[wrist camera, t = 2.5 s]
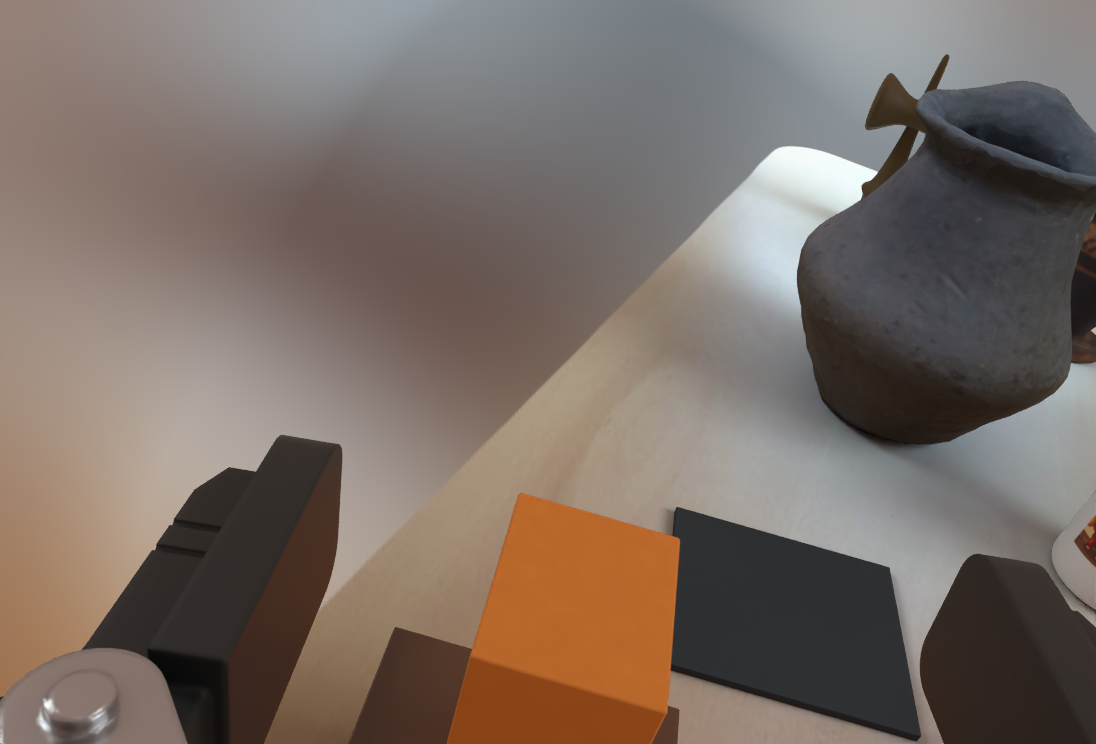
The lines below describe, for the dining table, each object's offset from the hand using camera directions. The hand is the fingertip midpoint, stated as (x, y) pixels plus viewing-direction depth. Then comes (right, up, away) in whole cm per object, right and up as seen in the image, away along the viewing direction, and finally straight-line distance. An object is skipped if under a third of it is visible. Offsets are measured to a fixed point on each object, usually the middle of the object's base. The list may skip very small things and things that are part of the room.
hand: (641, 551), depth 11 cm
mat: (+13, -12, +40) cm, 44 cm away
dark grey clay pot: (+26, 0, +61) cm, 66 cm away
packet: (-3, -13, +20) cm, 24 cm away
